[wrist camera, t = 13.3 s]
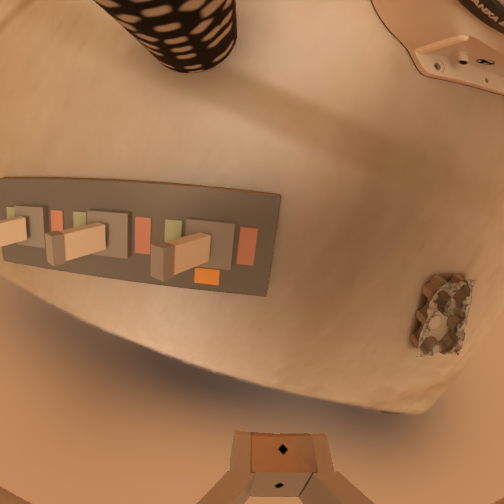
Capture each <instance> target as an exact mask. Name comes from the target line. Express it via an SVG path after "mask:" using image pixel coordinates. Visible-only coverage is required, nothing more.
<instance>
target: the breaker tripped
mask: <svg viewBox="0 0 504 504" xmlns="http://www.w3.org/2000/svg"><path fill="white" fill-rule="evenodd" d="M210 241H211V235H208V234H205V233H201V232H199V233H195V234H192V235H188V236H184V237H181V238H177V239H174V240H170V241H167V242H163V241H160V242H157V243H153V244H151V276H152V277H154V278H156V279H159V280H161V281H166V280H168V279H170V278H173V277H174V275H176V274H178V273H181V272H183V271H185V270H188V269H190V268H193V267H195V266H198V265H200V264H203V263H205V262H208V261H209V253H210Z"/></svg>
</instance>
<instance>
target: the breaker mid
mask: <svg viewBox="0 0 504 504" xmlns="http://www.w3.org/2000/svg"><path fill="white" fill-rule="evenodd" d="M45 242H46V254H47V262H48V263H50V264H51V265H53V266H57V265H61V264H64V263H65V261H68V260H72V259H75V258H78V257H82V256H85V255H89V254H92V253H95V252H99V251H102V250H106V242H105V225H104V224H102V223H99V222H98V223H93V224H88V225H84V226H79V227H75V228H70V229H66V230H62V231H57V230H55V231H51V232H47V233H45Z"/></svg>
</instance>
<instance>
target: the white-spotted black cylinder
mask: <svg viewBox="0 0 504 504" xmlns="http://www.w3.org/2000/svg"><path fill="white" fill-rule="evenodd" d="M94 1H95V2H96V3H97V4H98V5H99V6H101V7H102V8H103V9H104V10H105V11H106V12H107V13H108V14H110V15H111V16H112V17H113V18H114V19H115V20H116V21H117V22H118V23H119V24H121V25H122V26H123V27H124V28H125V29H126V30H127V31H128V32H129V33H130V34H131V35H132V36H134V37H135V38H136V39H137V40H138V41H139V42H140V43H141V44H142V45H143V46H144V47H145V48H146V49H147V50H148V51H149V52H150V53H151V54H152V55H153V56H154V57H155V58H157V59H158V60H159V61H160V62H161V63H162V64H163V65H164V66H166V67H167V68H169V69H171V70H174V71H177V72H183V73H196V72H201V71H205V70H207V69H210V68H212V67H214V66H216V65H217V64H219V63H220V62H222V61H223V60H224V59H225V58H226V57H227V56H228V55H229V53H230V52H231V51H232V49H233V47H234V45H235V42H236V38H237V21H236V2H235V0H94Z"/></svg>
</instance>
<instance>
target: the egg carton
mask: <svg viewBox="0 0 504 504" xmlns="http://www.w3.org/2000/svg"><path fill="white" fill-rule="evenodd" d="M473 285H474V281H472V280H471V279H467V280H466V279H464V278H463V277H462V276H460V275H459V274H453V275H452V278H451V279H450V280H449V281H448V282H446V281H445V280H444V279H443V278H441V277H440V276H439V275H433V276H432V278H431V280H430V281H429V282H428V283H427V284H425V285H423V287H422V293H423V294H424V295H425V296H426V297H427V302H426V304H425V306H424V307H423V308H421V309H419V310H417V314H416V318H417V319H418V320H419V321H420V322H421V326H420V328H419V329H418V330H417V331H416V332H414V333H412V334H411V337H410V340H411V341H412V342H413V343H414V345H415V346H416V347H417V348H418V349H417V356H416V357H424V356H425V355H431V356H433V355H434V353H435V352H440V353H442V354H456V353H457V355H458V354H459V353H460V349H462V344H463V342H464V338H465V332H464V328H465V326H466V324H467V322H468V321H467V317H468V313H469V309H470V307H471V300H472V287H473ZM461 286H462V288H461ZM439 288H448V289H450V290H451V291H453V292H456V293H455V295H454V297H451V296H450V295H449V294H448V292H447V293H446V292H445V291H441V292H439V293H438V294H437V291H438V289H439ZM459 288H461V289H460V290H458V289H459ZM455 307H456V310H455ZM438 310H439V311H440V312H441V313H442V314H443V315H444V316H446V317H448V319H447V326H448V327H449V328H450V331H449V333H448V334H446V335H445V336H444V337H443V338H442V339H441V341H440V342H438V341H437V340H436V339H435V338H434V337H428V338H427V336H428V333H429V331H431V330H435V329H436V328H437V327H438V326H439V325H440V323H441V316H440V315H435V312H437V311H438ZM430 317H432V318H431V319H430ZM426 320H427V322H428V327H427V326H426V325H427V322H426ZM424 339H425V340H424ZM423 340H424V341H423ZM422 341H423V343H422ZM421 343H422V344H421Z"/></svg>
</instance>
